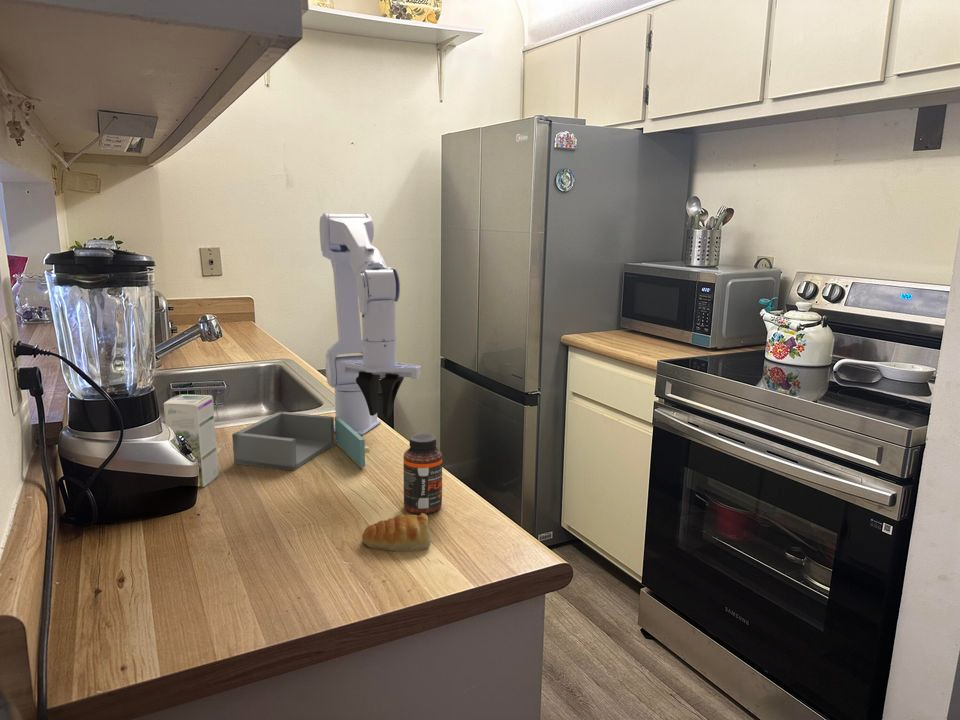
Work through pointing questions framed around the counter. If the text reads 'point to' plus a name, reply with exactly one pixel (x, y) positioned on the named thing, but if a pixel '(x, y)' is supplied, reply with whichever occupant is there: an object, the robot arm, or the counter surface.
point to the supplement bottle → (422, 475)
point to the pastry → (399, 533)
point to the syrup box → (195, 430)
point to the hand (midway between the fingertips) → (380, 414)
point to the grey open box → (283, 440)
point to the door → (350, 442)
